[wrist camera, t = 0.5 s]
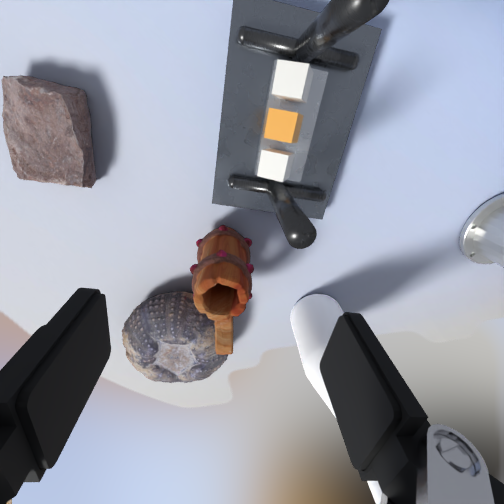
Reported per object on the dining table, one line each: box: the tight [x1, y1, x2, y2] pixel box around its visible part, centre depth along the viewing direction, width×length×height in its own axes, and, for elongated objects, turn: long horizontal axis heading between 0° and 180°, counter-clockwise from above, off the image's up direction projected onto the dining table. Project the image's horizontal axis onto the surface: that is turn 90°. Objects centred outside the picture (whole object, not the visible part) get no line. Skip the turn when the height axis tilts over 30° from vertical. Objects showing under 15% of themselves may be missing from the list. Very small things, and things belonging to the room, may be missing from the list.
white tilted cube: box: [272, 59, 314, 104], centre depth 26 cm, size 3×3×4 cm
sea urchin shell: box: [122, 291, 228, 383], centre depth 45 cm, size 19×19×10 cm
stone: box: [2, 76, 97, 188], centre depth 31 cm, size 12×9×5 cm
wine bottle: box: [290, 294, 382, 504], centre depth 36 cm, size 10×10×30 cm
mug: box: [190, 225, 254, 355], centre depth 36 cm, size 15×8×15 cm, turn 179°
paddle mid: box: [264, 108, 303, 143], centre depth 28 cm, size 3×3×4 cm
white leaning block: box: [257, 148, 295, 182], centre depth 30 cm, size 3×3×4 cm
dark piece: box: [212, 0, 389, 249], centre depth 26 cm, size 16×22×18 cm
